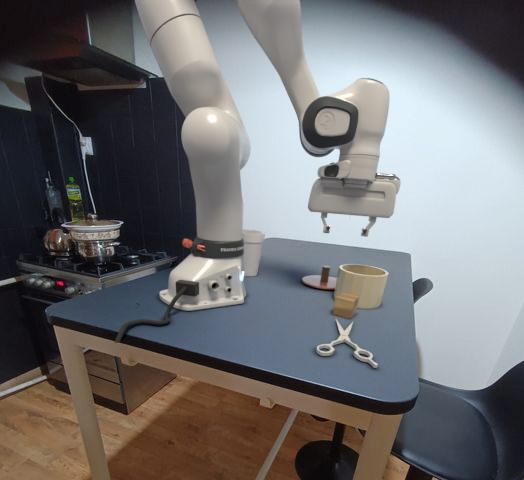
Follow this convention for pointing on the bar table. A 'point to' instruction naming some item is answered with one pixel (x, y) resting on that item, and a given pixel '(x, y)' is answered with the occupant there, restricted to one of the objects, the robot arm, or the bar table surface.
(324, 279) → the lid
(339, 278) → the pot
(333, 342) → the scissors
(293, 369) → the bar table surface
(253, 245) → the foam cup
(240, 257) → the robot arm
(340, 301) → the block
